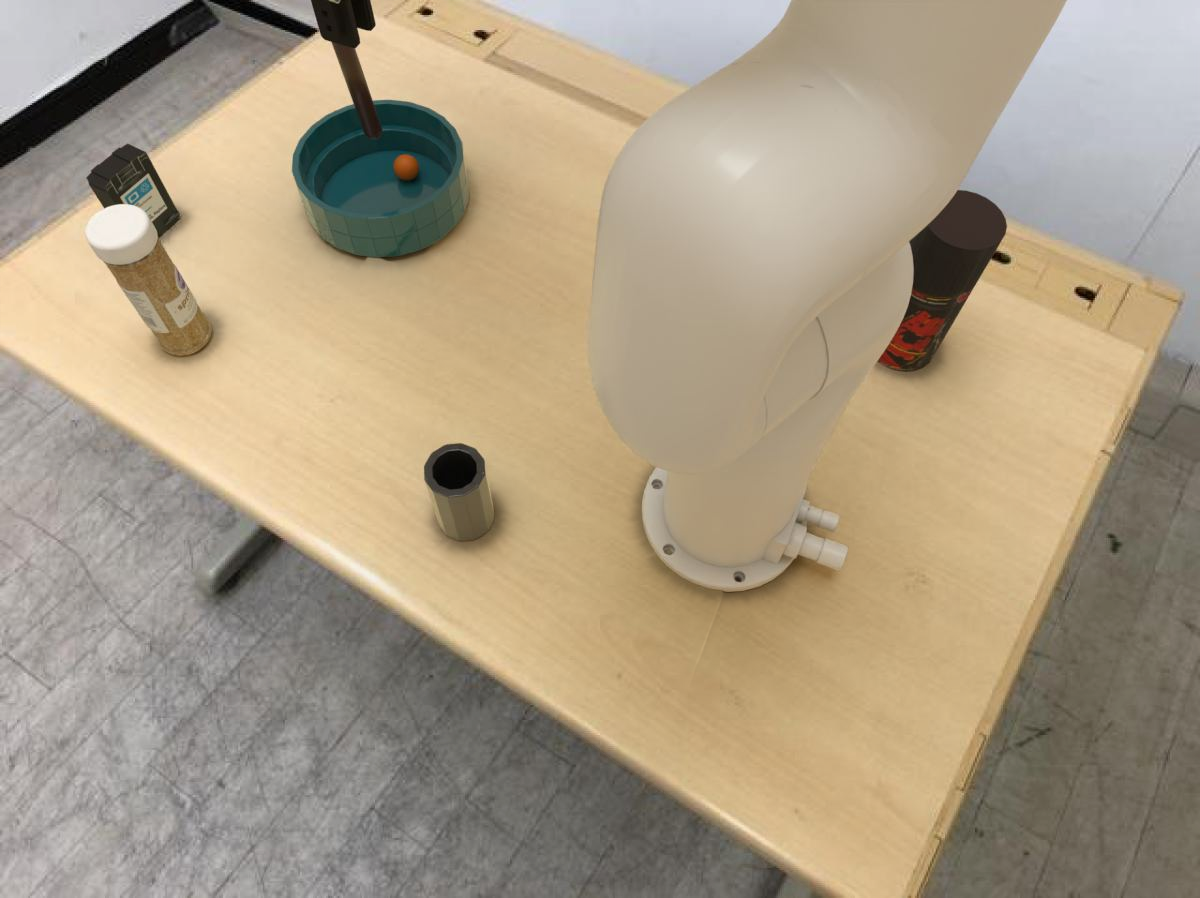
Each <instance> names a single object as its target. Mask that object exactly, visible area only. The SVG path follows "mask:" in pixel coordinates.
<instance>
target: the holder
mask: <svg viewBox="0 0 1200 898" xmlns="http://www.w3.org/2000/svg"><path fill="white" fill-rule="evenodd" d="M488 475H489V474H488V470H487V466H486V460H485V458H484V457H483V455H482V454H481V453H480V452H479V451H478V450H477V448H475V447H473V446H470V445H468V444H465V443H462V442H457V443H449V444H448V443H446V444H444V445H442V446H440V447H439V448H437V449H436V450H433V451H432V452H431V453H430V454H429V456H428V458H427V459H426V461H425V463H424V465H423V479H424V483H425V486H426V489H427V493H428V495H429V498H430V501H431V505H432V508H433V511H434V514H435V517H436V520H437V523H438V526H439V528H440V529H441V530H442V532H443V533H444V534H445V536H446V537H449V538H450V539H452V540H456V541H458V542H471V541H475V540H477V539H479V538H481V537H483V536H484V535H485V534H486V533H488V532H489V530H490V529H491V528H492V525H493V523H494V521H495V510H494V503H493V502H494V501H493V497H492V492H491V486H490V481H489V476H488Z"/></svg>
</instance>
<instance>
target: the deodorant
mask: <svg viewBox="0 0 1200 898" xmlns="http://www.w3.org/2000/svg"><path fill="white" fill-rule="evenodd" d="M1007 229H1008V224H1007V219H1006V216H1005V215H1004V213H1003V210H1001V209H1000V207H999V206H997V204H996V203H994V202H993V201H992V200H990V198H988V197H986V196H983V195H982V194H980V193H977V192H973V191H970V190H966V189H965V190H963V189H958V190H957V192H956V193H955V195H954V196H953V197H952V199H951V200H950V201H949V203H948V204H947V205H946V206H945V207H944V209H943V210H942V211H941V212H940V213H939V214H938V215H937V216H936V217H935V218H934V219H933V220H932V221H931V222H930V223H929V224H928V225H927V226H926V227H925V228H924V229H923V230H922V231H920V232H919V233H918V234H917V235H916V236H915V237H914V238H913V239H911V240H910V241H909V242H910V246H911V251H912V255H913V266H914V272H913V286H912V292H911V297H910V300H909V304H908V307H907V310H906V312H905V315H904V318H903V320H902V322H901V324H900V326H899V328H898V330H897V331H896V333H895V335H894V337H893V338H892V340H891V342H890V343H889V345H888V346H887V348H886V349H885V351H884V352H883V354H882V355H881V357H880V358H879V359H878V361H877V362H879V363H880V364H881V365H883V366H884V367H886V368H889V369H892V370H895V371H899V372H914V371H918V370H920V369H923V368H925V367H926V366H927V365H928V364H930V363H931V361H932V360H933V358H934V356H935V355H936V353H937V352H938V350H939V348H940V346H941V345H942V343H943V342H944V339H945V337H946V336H947V335H948V333H949V331H950V329H951V327H952V326H953V325H954V323H955V321H956V319H957V317H958V316H959V314H960V313H961V311H962V309H963V307H964V305H965V304H966V302H967V300H968V299H969V297H970V295H971V294H972V292H973V290H974V288H975V287H976V285H977V284H978V281H979V280H980V279H981V277H982V276H983V274H984V271H985V269H986V268H987V266H988V265H989V263H990V261H991V260H992V258H993V256H994V255H995V253H996V251H997V249H998V248H999V246H1000V244H1001V243H1002V241H1003V239H1004V238H1005V235H1006V234H1007Z"/></svg>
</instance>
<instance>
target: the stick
mask: <svg viewBox="0 0 1200 898" xmlns="http://www.w3.org/2000/svg"><path fill="white" fill-rule="evenodd" d="M331 45H332V48H333V51H334V53H335V56H336V59H337V62H338V64H339V67H340V70H341V73H342V75H343V79H344V81H345V84H346V87H347V90H348V92H349V95H350V98H351V100H352V103H353V104H354V106H355V109H356V112H357V115H358V118H359V120H360V123H361V126H362V129H363V131H364V134H365V135H366V137H368V138H369V139H378V138H379V137H380V136H381V134H382V127H381V124H380V121H379V118H378V115H377V112H376V109H375V106H374V103H373V100H374V99H373V97H372V94H371V91H370V88H369V85H368V82H367V80H366V76H365V74H364V73H365V72H364V70H363V68H362V64H361V61H360V60H359V56H358V52H357V50H356V49H357V48H351V47H347V46H344V45H340V44H337V43H333V42H331Z"/></svg>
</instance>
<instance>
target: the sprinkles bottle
mask: <svg viewBox="0 0 1200 898" xmlns="http://www.w3.org/2000/svg"><path fill="white" fill-rule="evenodd" d="M84 237H85V241H86V242H87V243H88V246H89V247H90V248H91V250H92V251H93V253H94V254H95V256H96V257H97V258H98V259H99V260H100V261H102V262H103V263H104V264H105V265H106V267H107V268H108V270H109V271H110V273H111V274H112V276H113V277H114V279H115V281H116V283H117V285H118V286H119V287H120V289H121V290H122V292H123V293H124V295H125V296H126V298H127V299H128V301H129V302H130V304H131V305H132V307H133V308H134V310H135V311H136V313H137V314H138V316H139V317H140V318H141V320H142V321H143V322H144V324H145V326H147V327H148V329H149V330H150V331H151V332H152V334H153V335H154V336H155V338H156V339H157V343H158V344H159V347H160V348H161V349H162V350H163V351H164V352H166V353H168V354H169V355H172V356H178V357H182V356H189V355H193V354H195V353H196V352H198V351H200V350H201V349H203V348H204V347H206V345H207V344H208V343H209V341H210V339H211V338H212V337H211V336H212V334H213V326H212V323H211V322H210V320H209V319H208V318H207V317H206V316H205V314H204V313H203V311H202V310H201V309H202V308H201V307H200V306H199V304H198V303H197V299H196V298H195V296H194V294H193V292H192V291H191V289H190V287H189V286H188V284H187V283H186V281H185V279H184V278H183V275H182V274H181V273H180V271H179V269H178V268H177V267H178V266H176V264H175V263H174V262H173V261H172V258H171V257H170V256H169V253H168V252H167V250H166V249H165V247H164V245H163V244H162V242H161V240H160V238H158V234H157V230H156V228H155V227H154V225H153V223H152V221H151V220H150V218H149V217H148V215H147V214H146V213H145V211H143V210H142V209H141V208H139V207H137V206H134V205H129V204H118V205H113V206H109V207H106V208H104V207H103V208H102V209H100V210H98V211H97V212H96V213H94V214H93V215H92V216H91V217H90V218H89V220H88V222H87V223H86V225H85V227H84Z"/></svg>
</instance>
